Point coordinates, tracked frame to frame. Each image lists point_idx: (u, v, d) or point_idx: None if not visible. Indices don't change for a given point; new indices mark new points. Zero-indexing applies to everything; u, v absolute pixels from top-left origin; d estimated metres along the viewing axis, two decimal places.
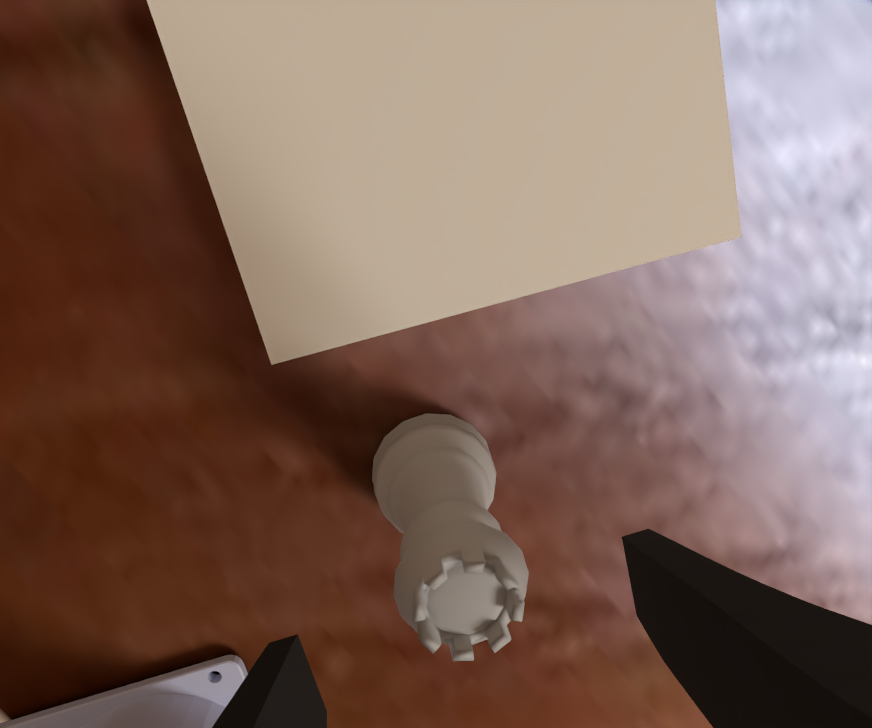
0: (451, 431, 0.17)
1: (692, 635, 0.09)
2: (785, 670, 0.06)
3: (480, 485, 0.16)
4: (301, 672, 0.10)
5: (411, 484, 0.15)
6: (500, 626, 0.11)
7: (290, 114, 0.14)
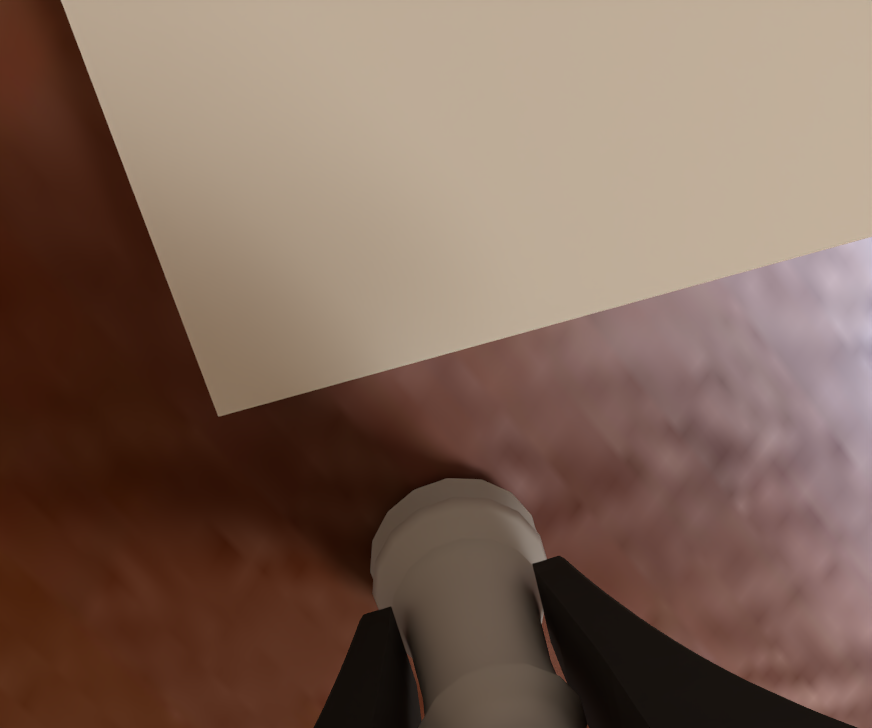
0: (486, 510, 0.11)
1: (583, 669, 0.09)
2: (638, 717, 0.06)
3: (533, 601, 0.10)
4: (398, 642, 0.10)
5: (430, 606, 0.10)
6: None
7: (239, 28, 0.09)
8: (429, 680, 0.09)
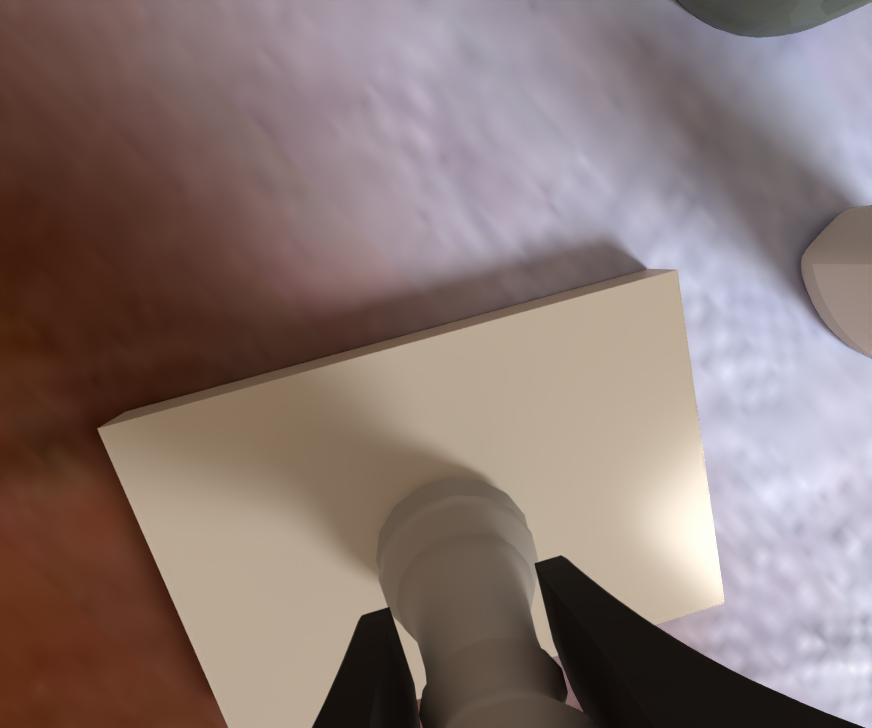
0: (484, 508, 0.13)
1: (585, 669, 0.09)
2: (641, 717, 0.06)
3: (524, 589, 0.12)
4: (396, 643, 0.10)
5: (433, 589, 0.11)
6: None
7: (256, 535, 0.14)
8: (431, 652, 0.10)
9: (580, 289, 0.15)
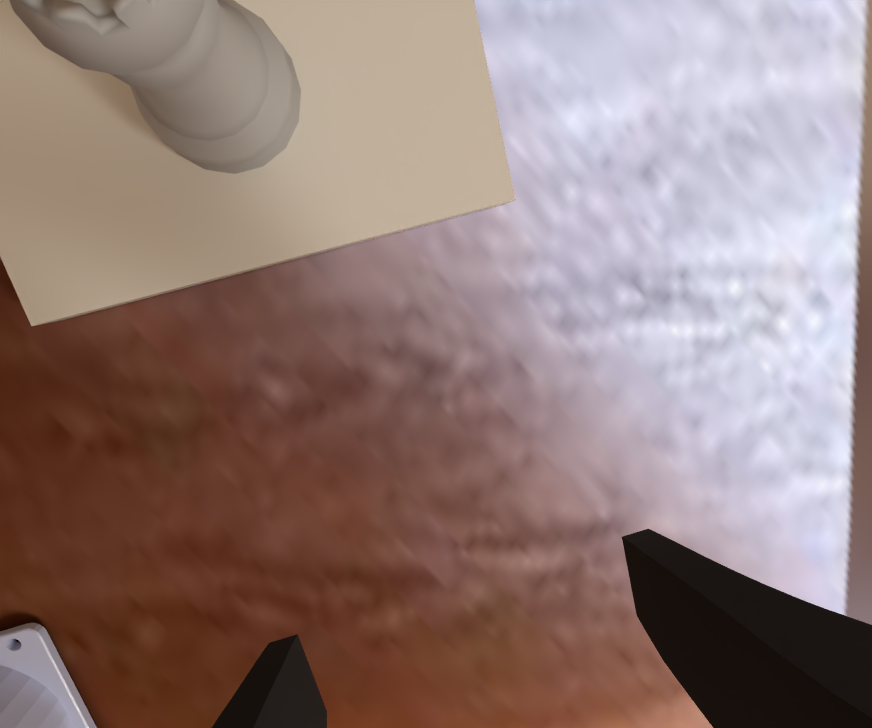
0: None
1: (692, 635, 0.09)
2: (785, 670, 0.06)
3: (238, 28, 0.12)
4: (301, 672, 0.10)
5: None
6: None
7: (26, 71, 0.14)
8: None
9: None
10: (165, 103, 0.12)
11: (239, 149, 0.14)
